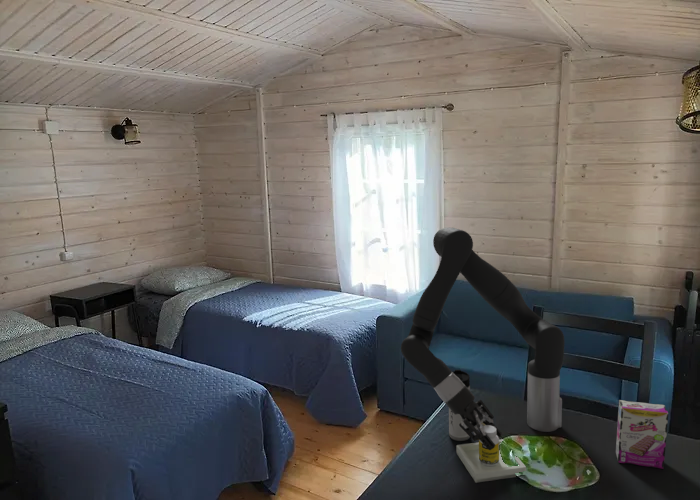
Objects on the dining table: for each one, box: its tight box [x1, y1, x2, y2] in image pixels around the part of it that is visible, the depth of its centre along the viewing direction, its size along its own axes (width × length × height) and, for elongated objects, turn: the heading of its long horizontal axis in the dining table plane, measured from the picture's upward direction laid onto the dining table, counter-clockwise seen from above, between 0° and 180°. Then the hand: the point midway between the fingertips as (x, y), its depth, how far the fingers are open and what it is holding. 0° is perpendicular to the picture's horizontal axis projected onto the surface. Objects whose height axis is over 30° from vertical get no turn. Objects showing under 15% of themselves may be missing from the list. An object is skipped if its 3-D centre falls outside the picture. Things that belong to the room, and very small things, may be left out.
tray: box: [456, 438, 527, 484], centre depth 142 cm, size 14×14×2 cm
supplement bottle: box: [478, 425, 500, 466], centre depth 141 cm, size 5×5×10 cm
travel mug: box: [448, 369, 471, 442], centre depth 156 cm, size 6×7×20 cm
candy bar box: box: [615, 399, 669, 470], centre depth 139 cm, size 11×5×16 cm, turn 71°
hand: (496, 442), depth 140 cm, fingers open, 6 cm apart
